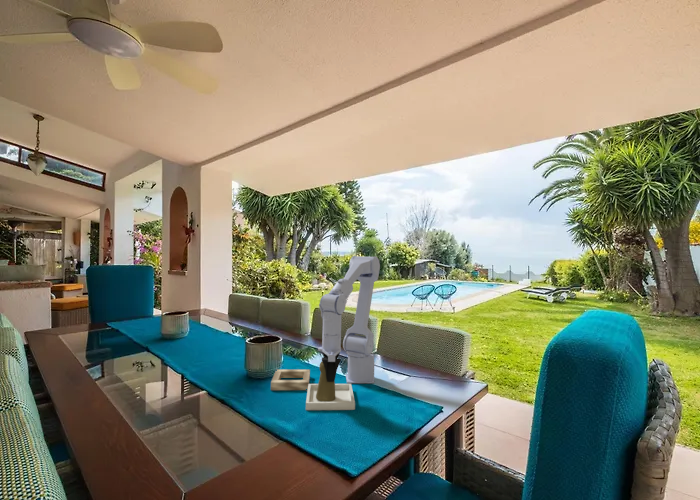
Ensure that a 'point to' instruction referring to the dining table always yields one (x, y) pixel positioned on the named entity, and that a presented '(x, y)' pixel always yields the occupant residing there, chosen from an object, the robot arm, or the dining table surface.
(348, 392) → the tray
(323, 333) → the robot arm
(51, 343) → the dining table surface
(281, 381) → the frame
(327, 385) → the olive tall rounded piece
